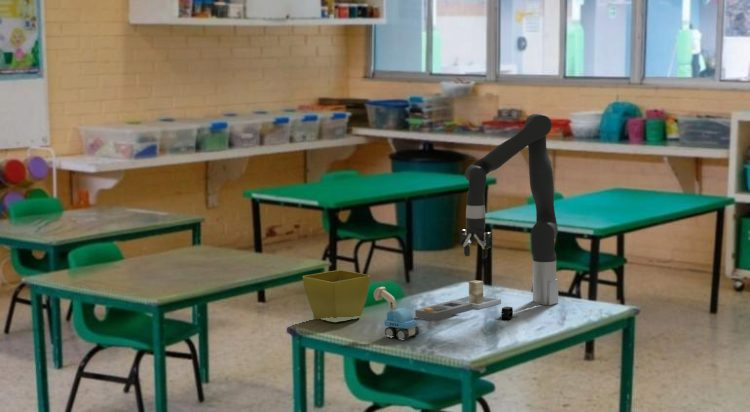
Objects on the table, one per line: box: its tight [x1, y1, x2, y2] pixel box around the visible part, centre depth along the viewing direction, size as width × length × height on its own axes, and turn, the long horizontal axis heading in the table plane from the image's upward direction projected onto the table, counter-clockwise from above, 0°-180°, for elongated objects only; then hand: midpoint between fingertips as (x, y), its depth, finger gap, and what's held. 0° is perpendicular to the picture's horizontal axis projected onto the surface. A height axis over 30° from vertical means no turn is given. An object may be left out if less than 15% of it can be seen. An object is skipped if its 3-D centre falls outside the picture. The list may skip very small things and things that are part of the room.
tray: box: [450, 295, 502, 310], centre depth 496 cm, size 14×14×2 cm
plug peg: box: [468, 279, 484, 304], centre depth 496 cm, size 4×4×9 cm
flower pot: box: [302, 269, 371, 320], centre depth 476 cm, size 19×19×17 cm
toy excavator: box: [373, 286, 420, 340], centre depth 447 cm, size 9×17×17 cm, turn 51°
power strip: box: [414, 300, 473, 322], centre depth 482 cm, size 10×22×4 cm, turn 137°
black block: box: [495, 306, 519, 322], centre depth 474 cm, size 12×7×5 cm, turn 150°
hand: (475, 257), depth 494 cm, fingers open, 8 cm apart
